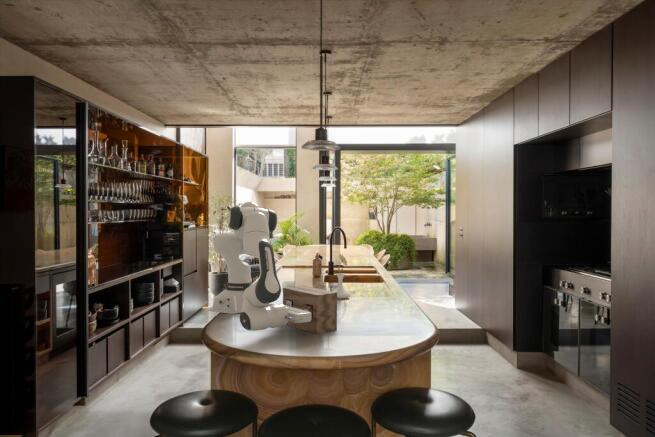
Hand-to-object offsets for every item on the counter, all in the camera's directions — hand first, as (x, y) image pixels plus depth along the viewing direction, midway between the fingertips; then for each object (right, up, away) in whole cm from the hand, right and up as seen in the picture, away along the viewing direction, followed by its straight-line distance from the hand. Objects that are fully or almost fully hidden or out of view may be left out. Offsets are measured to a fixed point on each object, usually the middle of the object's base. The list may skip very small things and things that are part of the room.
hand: (306, 311), depth 210 cm
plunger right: (+3, -2, +3) cm, 5 cm away
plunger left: (-5, -2, +14) cm, 15 cm away
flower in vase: (+16, -7, +80) cm, 82 cm away
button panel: (0, -9, +10) cm, 13 cm away
